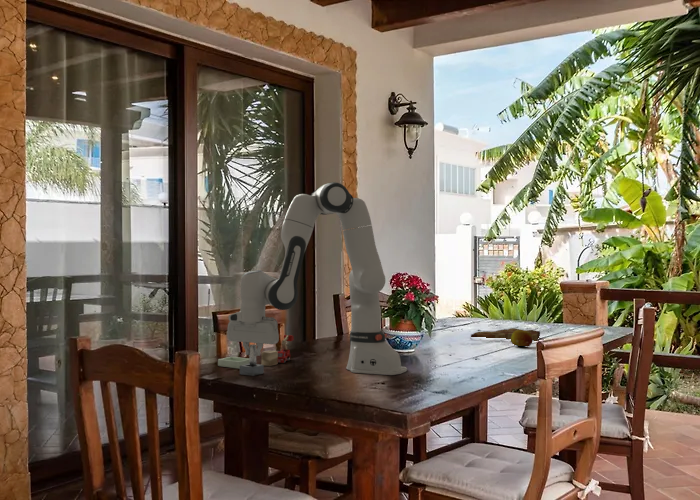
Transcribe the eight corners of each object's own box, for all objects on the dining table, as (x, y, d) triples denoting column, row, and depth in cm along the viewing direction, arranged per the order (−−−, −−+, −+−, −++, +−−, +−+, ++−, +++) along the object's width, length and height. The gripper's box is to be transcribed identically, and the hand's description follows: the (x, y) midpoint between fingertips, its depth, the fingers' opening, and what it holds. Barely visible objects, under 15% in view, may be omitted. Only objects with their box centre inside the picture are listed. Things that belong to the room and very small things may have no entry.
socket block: (263, 373, 250) (263, 364, 250) (253, 375, 244) (253, 367, 244) (249, 371, 253) (249, 363, 253) (239, 374, 247) (239, 365, 247)
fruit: (534, 347, 323) (535, 330, 323) (528, 349, 316) (528, 331, 316) (514, 345, 329) (514, 328, 329) (508, 347, 321) (508, 330, 321)
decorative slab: (541, 339, 356) (541, 329, 356) (536, 344, 336) (536, 334, 336) (477, 335, 368) (478, 325, 368) (469, 340, 348) (469, 330, 348)
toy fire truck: (275, 363, 271) (275, 338, 271) (285, 357, 285) (285, 334, 285) (283, 363, 271) (283, 338, 271) (293, 358, 284) (293, 334, 284)
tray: (252, 365, 266) (252, 358, 266) (239, 368, 258) (239, 361, 258) (231, 363, 270) (231, 356, 270) (217, 366, 263) (217, 359, 263)
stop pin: (257, 370, 249) (257, 344, 249) (253, 371, 247) (253, 345, 247) (252, 369, 250) (252, 344, 250) (248, 370, 248) (248, 345, 248)
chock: (277, 364, 270) (277, 351, 270) (269, 366, 265) (270, 352, 265) (269, 363, 272) (269, 350, 271) (261, 365, 267) (261, 352, 267)
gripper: (282, 316, 246) (282, 356, 246) (235, 314, 256) (235, 351, 256) (272, 318, 241) (272, 358, 241) (224, 315, 250) (224, 354, 250)
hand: (252, 355), depth 248 cm, fingers closed on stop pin, 2 cm apart
